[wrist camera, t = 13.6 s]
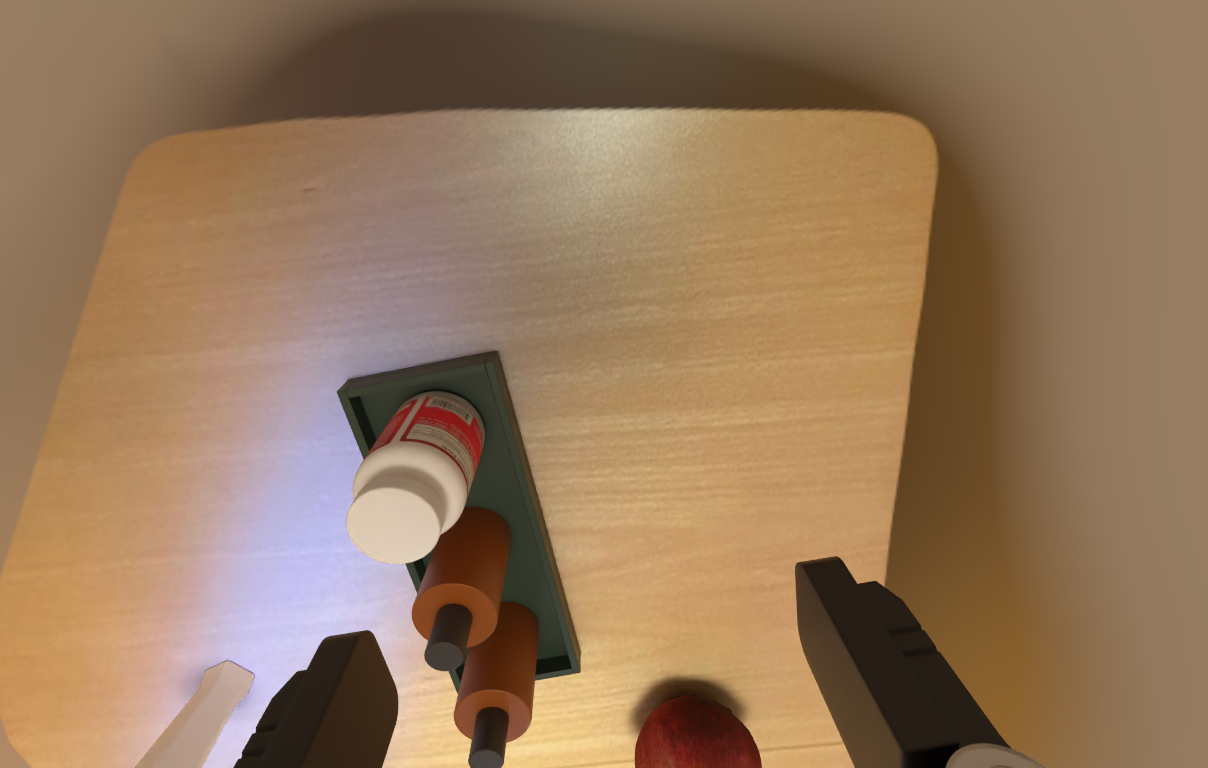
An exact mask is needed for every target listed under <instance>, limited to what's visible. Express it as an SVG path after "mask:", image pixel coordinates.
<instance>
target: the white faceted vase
mask: <svg viewBox="0 0 1208 768" xmlns="http://www.w3.org/2000/svg"><path fill="white" fill-rule="evenodd" d="M253 679H254V674H252V673H251V672H249V671H247V670H245V669H243V668H241V667H240V666H238V665H236V664H234V663H232V662H230V661H225V662H223V663H221V664H219V665H217V666H215V667H213V668H210V669H208V670H206V671H205V674H204V677H203V679H202V682H201V685H200V688H199V689H198V691H197V692H196V693H195V694H194V696H193V697H192V698H191V699H190V700H189V702H188V703H187V704H186V705H185V707H184V708H183V709H182V710H181V711H180V713H179V714H178V715H177V716H176V718H175V719H174V720H173V721H172V723H171V724H170V725H169V726H168V727H167V729H166V730H165V731H164V732H163V734H162V735H161V736H160V737H159V738H158V740H157V741H156V742H155V743H154V745H153V746H152V747H151V748H150V749H149V751H148V752H147V753H146V754H145V756H144V757H143V758H142V759H141V760H140V762H139V763H138V764H137V765H136V767H135V768H202V766H203V764H204V763H205V761H206V759H207V757H208V755H209V753H210V752H211V750H212V748H213V746H214V744H215V742H216V740H217V739H218V737H219V735H220V733H221V731H222V729H223V728H224V726H225V724H226V722H227V720H228V718H229V716H230V715H231V713H232V711H233V709H234V707H235V706H236V705H237V704H238V703H239V702H240V701H241V700H242V699H243V698H244V697H245V696H246V695H247V694H248V693H249V690H250V687H251V685H252V682H253Z"/></svg>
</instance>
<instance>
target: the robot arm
mask: <svg viewBox="0 0 1208 768" xmlns="http://www.w3.org/2000/svg"><path fill="white" fill-rule="evenodd" d="M795 578H796V600H797V621H798V631H799V636H800V640H801V644H802V648H803V651H804V654H805V657H806V659H807V662H808V664H809V666H810V668H811V671H812V673H813V675H814V677H815V680H816V682H817V684H818V686H819V689H820V691H821V693H822V695H823V697H824V700H825V702H826V704H827V706H828V709H829V711H830V713H831V715H832V718H833V720H834V722H835V724H836V726H837V729H838V731H839V733H840V735H841V738H842V740H843V742H844V744H845V746H846V749H847V751H848V753H849V755H850V758H851V760H852V762H853V764H854V767H855V768H1045V767H1043V766H1042V765H1041V764H1039V763H1038V762H1036V761H1035V760H1033V759H1031V758H1030V757H1028V756H1026V755H1024V754H1022V753H1020V752H1018V751H1016V750H1013V749H1012V748H1011V747H1010V746H1009V745H1008V744H1007V743H1006V742H1005V741H1004V740H1003V738H1002V737H1001V736H1000V735H999V733H998V732H997V730H996V729H995V728H994V726H993V725H992V724H991V722H990V721H989V719H988V718H987V717H986V716H985V714H984V712H983V711H982V710H981V708H980V707H979V706H978V704H977V703H976V701H975V700H974V699H973V697H972V696H971V694H970V693H969V692H968V690H967V689H966V687H965V686H964V685H963V683H962V682H961V681H960V679H959V678H958V676H957V675H956V674H955V672H954V671H953V670H952V668H951V667H950V666H949V664H948V663H947V661H946V660H945V658H944V657H943V656H942V654H941V653H940V652H938V651H937V650H936V646H935V645H934V643H933V642H932V640H931V639H930V638H929V636H928V635H927V633H926V632H925V631H924V630H922V629H921V625H920V624H919V622H918V621H917V620H916V618H915V617H914V615H913V614H912V613H911V611H910V610H909V608H908V607H907V606H906V604H905V603H904V602H903V600H902V599H900V598H899V597H897V596H896V595H895V594H893V593H892V592H890V591H889V590H888V589H886V588H885V587H883V586H882V585H881V584H879V583H878V582H876V581H872V582H866V583H859V584H857V583H856V581H855V579H854V578H853V576H852V575H851V573H850V572H849V570H848V569H847V567H846V565H845V564H844V562H843V561H842V560H841V559H840V558H839V557H837V556H835V557H829V558H823V559H816V560H810V561H804V562H798V563H796V566H795ZM397 715H398V694H397V689H396V686H395V683H394V681H393V678H392V676H391V674H390V671H389V669H388V667H387V664H386V662H385V659H384V657H383V655H382V652H381V650H380V648H379V645H378V643H377V641H376V638H375V636H374V635H373V633H372V632H371V631H368V630H365V631H359V632H353V633H347V634H340V635H334V636H329V637H326V638H325V639H324V640H323V641H322V642H321V644H320V645H319V647H318V649H317V651H316V653H315V655H314V657H313V659H312V661H311V663H310V665H309V666H308V668H307V670H303V671H297V672H296V673H295V674H294V676H293V677H292V678H291V679H290V680H289V681H288V682H287V683H286V684H285V685H284V686H283V687H282V688H281V689H280V691H279V692H278V693H277V694H276V695H275V696H274V697H273V698H272V700H271V701H270V703H269V705H268V707H267V709H266V710H265V712H264V714H263V716H262V718H261V719H260V721H259V723H258V725H257V727H256V733H254V734H252V735H251V737H250V739H249V741H248V743H247V744H246V746H245V748H244V750H243V752H242V758H241V759H238V761H237V762H236V764H235V766H234V768H382V766H383V763H384V759H385V756H386V753H387V750H388V747H389V744H390V741H391V737H392V734H393V731H394V728H395V725H396V721H397Z"/></svg>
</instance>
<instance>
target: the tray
mask: <svg viewBox="0 0 1208 768" xmlns="http://www.w3.org/2000/svg"><path fill="white" fill-rule="evenodd" d="M429 391H443V392H448V393H452V394H455V395H457V396H459V397H461V398H463V399H465V400H466V401H468V402H469V403H470V404H471V405H472V406H473V407H474V408H475V409H476V411H477V412H478V413H479V415H480V417H481V419H482V421H483V424H484V429H485V440H484V445H483V449H482V453H481V456H480V459H479V462H478V466H477V469H476V472H475V475H474V478H473V481H472V485H471V488H470V491H469V494H468V498H467V501H466V504H465V507H464V508H468V507H481V508H486V509H489V510H491V511H494V512H495V513H497V514H499V515H500V516H501V517H502V518H503V519H504V520H505V521H506V522H507V524H508V526H509V528H510V530H511V535H512V540H511V546H510V552H509V558H508V563H507V569H506V575H505V580H504V586H503V592H502V597H501V602H512V603H517V604H520V605H522V606H525V607H526V608H528V609H529V610H530V611H532V612H533V614H534V615H535V616H536V618H537V620H538V623H539V637H538V649H537V661H536V672H535V680H541V679H547V678H553V677H559V676H564V675H570V674H573V673H574V674H575V673H580V657H581V652H580V648H579V645H578V641H577V637H576V634H575V630H574V626H573V623H572V619H571V616H570V612H569V608H568V605H567V601H566V597H565V594H564V590H563V587H562V583H561V579H560V576H559V572H558V568H557V565H556V561H555V557H554V554H553V550H552V547H551V543H550V539H549V536H548V532H547V528H546V525H545V521H544V518H543V514H542V510H541V507H540V503H539V499H538V496H537V492H536V488H535V485H534V481H533V478H532V474H531V470H530V467H529V463H528V459H527V456H526V452H525V449H524V445H523V441H522V438H521V434H520V430H519V427H518V423H517V419H516V416H515V412H514V409H513V405H512V401H511V398H510V394H509V390H508V387H507V383H506V380H505V376H504V372H503V369H502V365H501V361H500V358H499V354H498V351H494V352H489V353H484V354H478V355H473V356H468V357H463V358H458V359H453V360H447V361H442V362H437V363H432V364H427V365H422V366H416V367H411V368H406V369H401V370H396V371H391V372H385V373H380V374H375V375H370V376H365V377H360V378H354V379H349V380H348V381H347V382H346V383H345V384H344V385H343V386H342V387H341V388H340V389H339V390H338V391H337V394H338V396H339V399H340V401H341V404H342V406H343V409H344V411H345V414H346V416H347V419H348V421H349V424H350V426H351V429H352V431H353V434H354V436H355V439H356V441H357V444H358V446H359V449H360V451H361V454H362V456H363V459H364V458H365V457H366V456H367V454H368V453H369V451H370V450H371V448H372V447H373V445H374V444H375V443H376V441H377V440H378V438H379V437H380V435H381V434H382V433H383V431H384V430H385V428H386V427H387V425H388V424H389V422H390V421H391V419H392V418H393V416H394V415H395V413H396V412H397V411H398V409H399V408H400V407H401V406H402V405H403V404H404V403H405V402H406V401H407V400H409V399H410V398H412V397H413V396H415V395H418V394H420V393H424V392H429ZM434 548H435V547H434ZM434 548H433V549H432V550H431V551H430V552H429V553H428V554H427V555H426V556H424V557H423V558H421V559H419V560H416V561H413V562H410V563H405V564H406V566H407V569H408V571H409V574H410V576H411V579H412V581H413V584H414V586H415V589H416V591H417V594H418V591H419V589H420V586H421V583H422V580H423V578H424V575H425V572H426V569H427V567H428V564H429V561H430V559H431V556H432V553H433V550H434ZM468 648H469V647H468ZM468 648H466V651H465V655H464V660H463V662H462V664H461V665H460V666H459V667H458V668H456V669H454V670H451V671H449V673H450V676H451V678H452V681H453V683H454V686H455V688H456V691H457V693H459V688H460V684H461V680H462V675H463V671H464V666H465V662H466V657H467V653H468Z"/></svg>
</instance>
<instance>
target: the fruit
mask: <svg viewBox="0 0 1208 768" xmlns="http://www.w3.org/2000/svg"><path fill="white" fill-rule="evenodd" d="M635 768H762V765H761V758H760V754H759V751H758V748H757V745H756V743H755V742H754V740H753V737H752V735H751V733H750V732H749V730H748V729H747V728H746V727H745V726H744V724H743V723H742V722H741V721H740V720H739V719H737V718H736V717H735V716H734V715H733V713H732V711H731V710H730V709H729V708H726V707H725V706H723V705H721V704H719V703H717V702H715V701H712V700H708V699H705V698H701V697H697V696H691V695H683V696H680V697H677V698H675V699H672V700H669V701H667V702H665V703H663V704H662V705H660V706H659V707H657V708H656V709H655V710H654V711H653V712H652V713H651V714H650V716H649V717H648V718H647V720H646V721H645V723H644V725H643V727H642V729H641V731H640V734H639V737H638V740H637V743H636V748H635Z"/></svg>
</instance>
